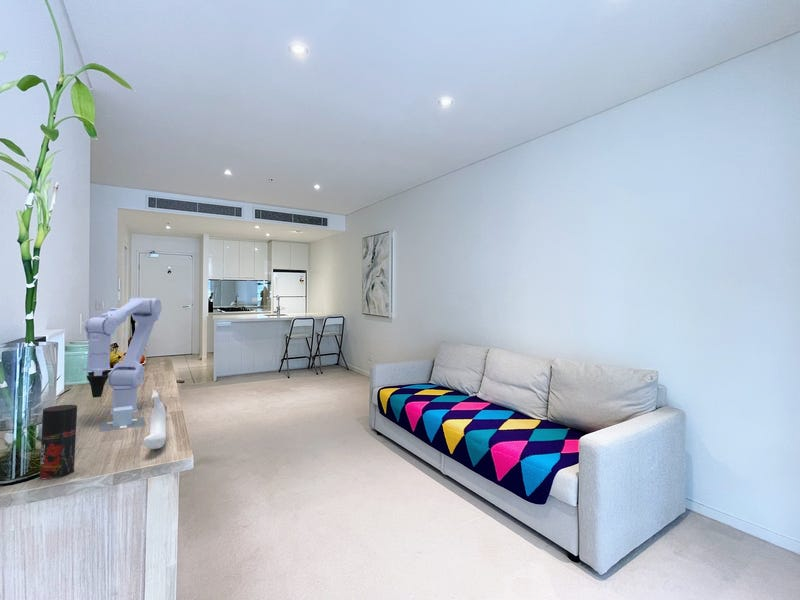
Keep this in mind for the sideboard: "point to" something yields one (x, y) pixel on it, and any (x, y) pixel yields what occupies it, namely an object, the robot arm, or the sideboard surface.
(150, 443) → the white curved piece
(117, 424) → the blue cube
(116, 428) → the letter card
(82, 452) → the sideboard surface
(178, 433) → the sideboard surface
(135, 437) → the sideboard surface
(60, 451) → the deodorant
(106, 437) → the sideboard surface
